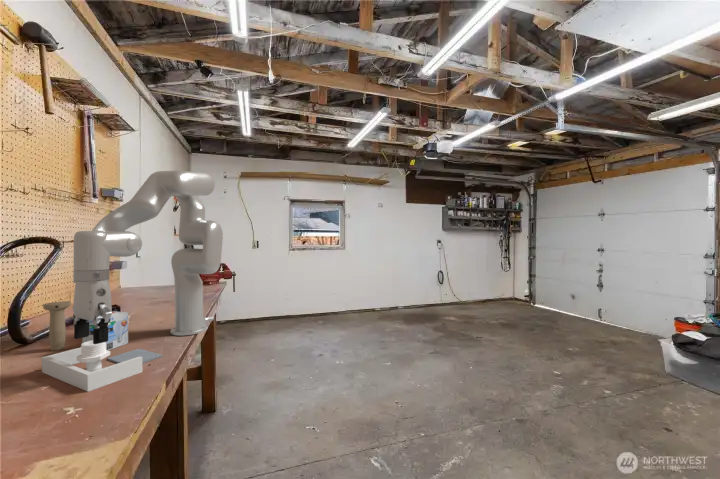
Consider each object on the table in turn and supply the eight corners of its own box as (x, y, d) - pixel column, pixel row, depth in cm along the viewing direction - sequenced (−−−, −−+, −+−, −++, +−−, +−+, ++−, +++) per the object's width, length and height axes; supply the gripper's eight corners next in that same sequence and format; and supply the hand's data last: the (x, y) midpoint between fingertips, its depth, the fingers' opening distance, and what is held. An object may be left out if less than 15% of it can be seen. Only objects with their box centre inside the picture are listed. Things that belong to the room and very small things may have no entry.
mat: (139, 349, 104) (139, 348, 104) (162, 356, 99) (162, 354, 99) (107, 359, 96) (107, 358, 96) (130, 367, 91) (130, 365, 91)
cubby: (95, 356, 99) (95, 343, 99) (142, 371, 88) (142, 357, 88) (41, 372, 88) (41, 357, 88) (87, 391, 77) (87, 375, 77)
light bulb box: (98, 354, 101) (98, 319, 101) (81, 352, 102) (80, 318, 102) (129, 343, 111) (129, 311, 111) (113, 341, 113) (112, 310, 112)
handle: (70, 349, 105) (70, 303, 105) (43, 353, 101) (42, 305, 101) (71, 345, 109) (70, 300, 109) (44, 349, 105) (43, 303, 104)
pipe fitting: (109, 372, 88) (108, 343, 87) (74, 379, 84) (73, 348, 84) (111, 364, 93) (111, 336, 93) (79, 370, 89) (78, 341, 89)
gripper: (125, 277, 87) (124, 341, 87) (91, 273, 95) (90, 332, 95) (92, 279, 80) (91, 349, 80) (58, 276, 88) (57, 339, 88)
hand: (91, 340), depth 88 cm, fingers open, 9 cm apart
